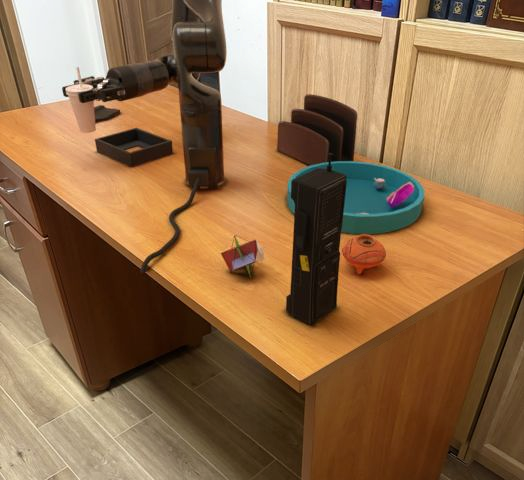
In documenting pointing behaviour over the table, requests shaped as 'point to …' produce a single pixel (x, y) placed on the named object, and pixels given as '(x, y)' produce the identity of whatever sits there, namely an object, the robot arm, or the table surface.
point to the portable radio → (316, 243)
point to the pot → (363, 252)
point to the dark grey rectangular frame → (131, 138)
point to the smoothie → (82, 106)
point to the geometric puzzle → (243, 255)
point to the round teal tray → (373, 197)
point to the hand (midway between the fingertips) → (71, 95)
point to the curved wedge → (104, 113)
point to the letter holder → (319, 131)
